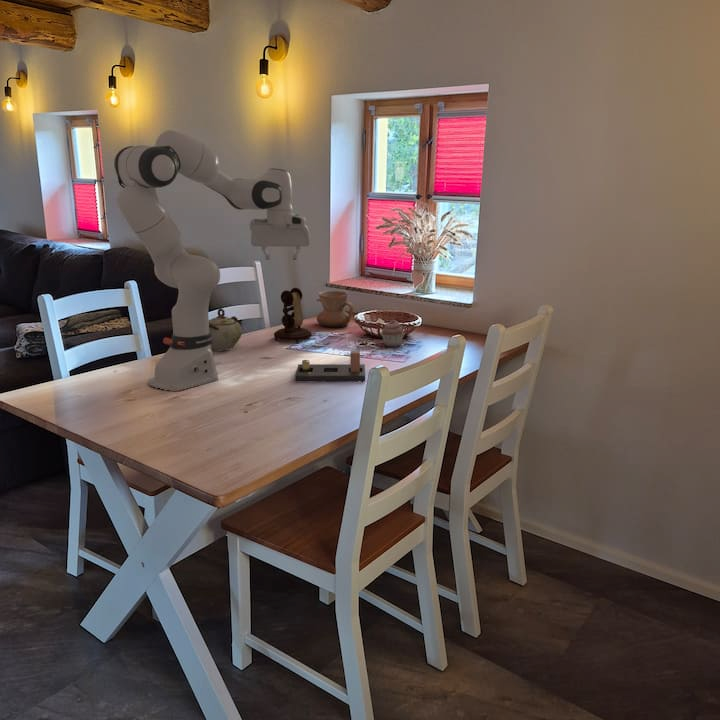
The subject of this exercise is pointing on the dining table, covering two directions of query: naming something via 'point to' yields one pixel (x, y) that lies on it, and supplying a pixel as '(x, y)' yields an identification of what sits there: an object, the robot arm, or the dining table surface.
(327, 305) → the ceramic jug
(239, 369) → the dining table surface
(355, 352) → the terracotta peg
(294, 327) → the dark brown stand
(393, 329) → the cupcake
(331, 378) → the grey peg board
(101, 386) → the dining table surface
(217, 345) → the olive green rounded pot
